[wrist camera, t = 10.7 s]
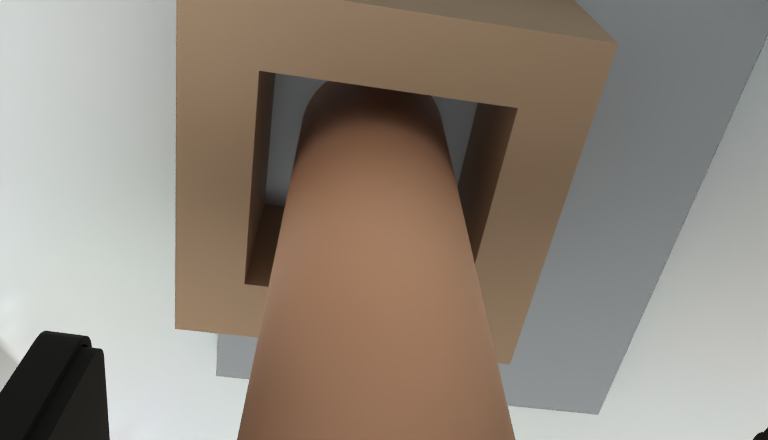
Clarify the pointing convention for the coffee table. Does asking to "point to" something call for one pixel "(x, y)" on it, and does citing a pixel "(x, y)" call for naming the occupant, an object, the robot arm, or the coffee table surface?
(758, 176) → the coffee table surface
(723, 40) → the socket board
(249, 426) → the peg
